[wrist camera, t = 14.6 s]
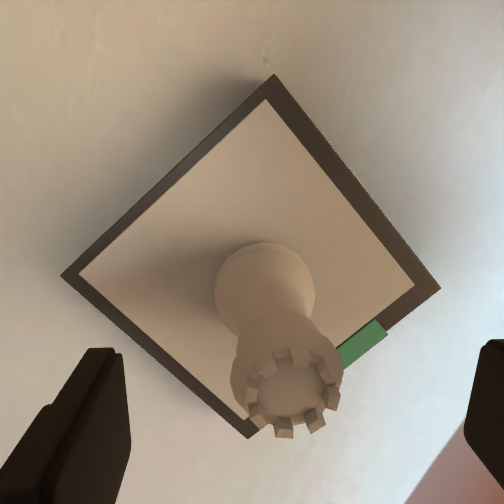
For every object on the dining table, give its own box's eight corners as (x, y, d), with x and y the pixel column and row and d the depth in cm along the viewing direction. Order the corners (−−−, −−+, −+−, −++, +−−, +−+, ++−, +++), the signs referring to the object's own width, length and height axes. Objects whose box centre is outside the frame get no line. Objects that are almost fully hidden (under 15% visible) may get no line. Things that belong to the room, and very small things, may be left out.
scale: (418, 272, 21) (448, 293, 18) (245, 410, 23) (248, 448, 20) (267, 81, 18) (276, 70, 15) (78, 260, 20) (53, 280, 17)
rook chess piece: (201, 313, 18) (184, 446, 10) (233, 225, 17) (241, 298, 9) (289, 340, 18) (335, 482, 11) (325, 257, 17) (405, 350, 10)
